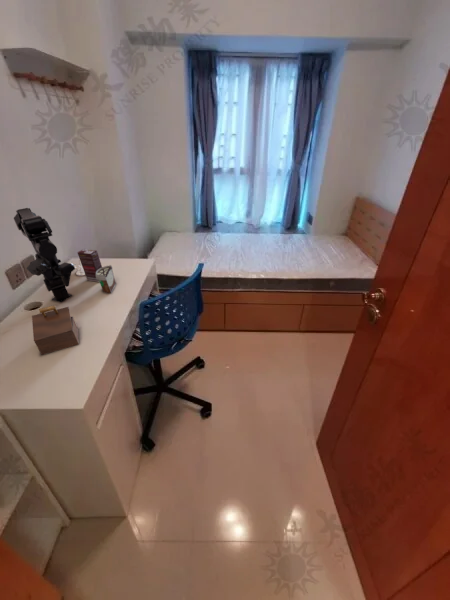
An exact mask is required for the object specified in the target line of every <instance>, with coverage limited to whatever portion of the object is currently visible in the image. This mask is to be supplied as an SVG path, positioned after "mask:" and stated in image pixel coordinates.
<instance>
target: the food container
mask: <svg viewBox="0 0 450 600" xmlns="http://www.w3.org/2000/svg"><path fill="white" fill-rule="evenodd" d="M96 278H97V279H98V280H99V282H98V283H99V285H100V288H101V289H102V291H103V293H105V294H112V293H113V291H114V289H115V287H116V285H117V283H116V279H115V274H114V271H113V266H112V265H111V264H109V265H104V266H102V268H100V269H98V270H97V271H96Z"/></svg>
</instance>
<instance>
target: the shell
mask: <svg viewBox="0 0 450 600" xmlns="http://www.w3.org/2000/svg"><path fill="white" fill-rule="evenodd" d="M77 256H78V255H77ZM68 263H71V264H73V263H72V262H70V261H69V262H68ZM78 263H79V264H78V265H77V263H76V264H73V265H74V268H75V270H76V273H75V274H76V276H86V275H85V272H84V269H83V267H82V264H81V261H80V259H79V256H78ZM76 265H77V266H76Z"/></svg>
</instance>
